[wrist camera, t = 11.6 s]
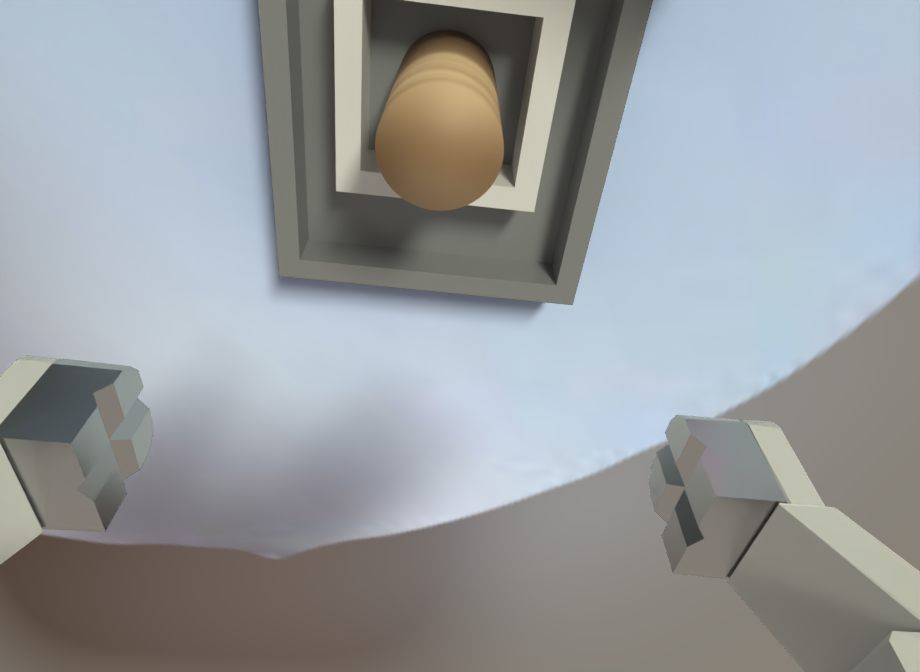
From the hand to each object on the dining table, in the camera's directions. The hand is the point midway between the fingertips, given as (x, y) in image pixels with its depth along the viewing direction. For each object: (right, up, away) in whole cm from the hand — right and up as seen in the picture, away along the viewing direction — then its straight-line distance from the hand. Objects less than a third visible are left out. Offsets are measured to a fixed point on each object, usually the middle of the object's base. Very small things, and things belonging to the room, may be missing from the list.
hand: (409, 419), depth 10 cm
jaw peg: (0, +12, +16) cm, 20 cm away
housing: (0, +12, +17) cm, 21 cm away
